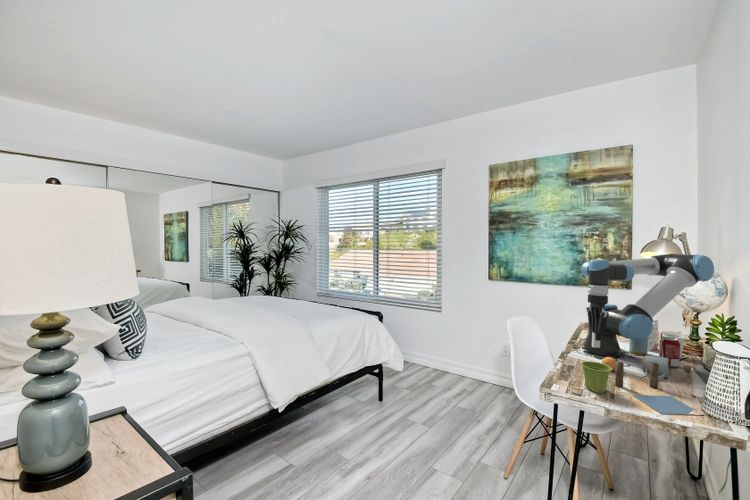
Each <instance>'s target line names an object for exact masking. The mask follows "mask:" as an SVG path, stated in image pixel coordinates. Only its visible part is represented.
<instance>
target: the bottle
mask: <svg viewBox="0 0 750 500" xmlns="http://www.w3.org/2000/svg"><path fill="white" fill-rule="evenodd" d="M628 344H629V350H628V351H629V352H630V353H631V354H633V355H638V356H647V355H648V352H649V351H648V337H647V338H645V339H643V340H632V339H629V343H628Z"/></svg>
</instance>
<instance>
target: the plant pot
mask: <svg viewBox="0 0 750 500" xmlns="http://www.w3.org/2000/svg"><path fill="white" fill-rule="evenodd" d="M580 365H581V366H582V369H583V376H584V386H585V388H586V389H587V390H589V391H592V392H594V393H605V392H606V390H607V385H608V380H609V375H610V374H611V372H613V371H612V368H611V367H609V366H608V365H605V364H602V362H597V361H589V360H588V361H581V363H580Z"/></svg>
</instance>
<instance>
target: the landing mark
mask: <svg viewBox="0 0 750 500" xmlns="http://www.w3.org/2000/svg"><path fill="white" fill-rule="evenodd" d="M632 397H634V398H636V399H637V400H639V401H640V402H642V403H644V404H645V405H647V406H648V407H650V408H651V409H653V410H654V411H655V412H657V413H659V414H660V415H673V416H674V415H675V416H677V415H676V414H685V415H684V416H691V415H690V414H689V413H690V412H692V410H693V411H694V409H695V408H693V407H691V406H689V404H687V403H684V402H682V401H681V400H678V399H677V398H675V397H674V396H672V395H654V394H653V395H652V394H649V395H648V394H632ZM687 414H689V415H687Z"/></svg>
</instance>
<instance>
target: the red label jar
mask: <svg viewBox="0 0 750 500" xmlns="http://www.w3.org/2000/svg"><path fill="white" fill-rule="evenodd" d="M661 335H662V337H673V338H677V339H678V342H679V343H680V358H681V359H682V356H683V350H684V345H685V342H686V339H687V338H686V337H685V336H683V335H680V334H675V333H663V334H661Z"/></svg>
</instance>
